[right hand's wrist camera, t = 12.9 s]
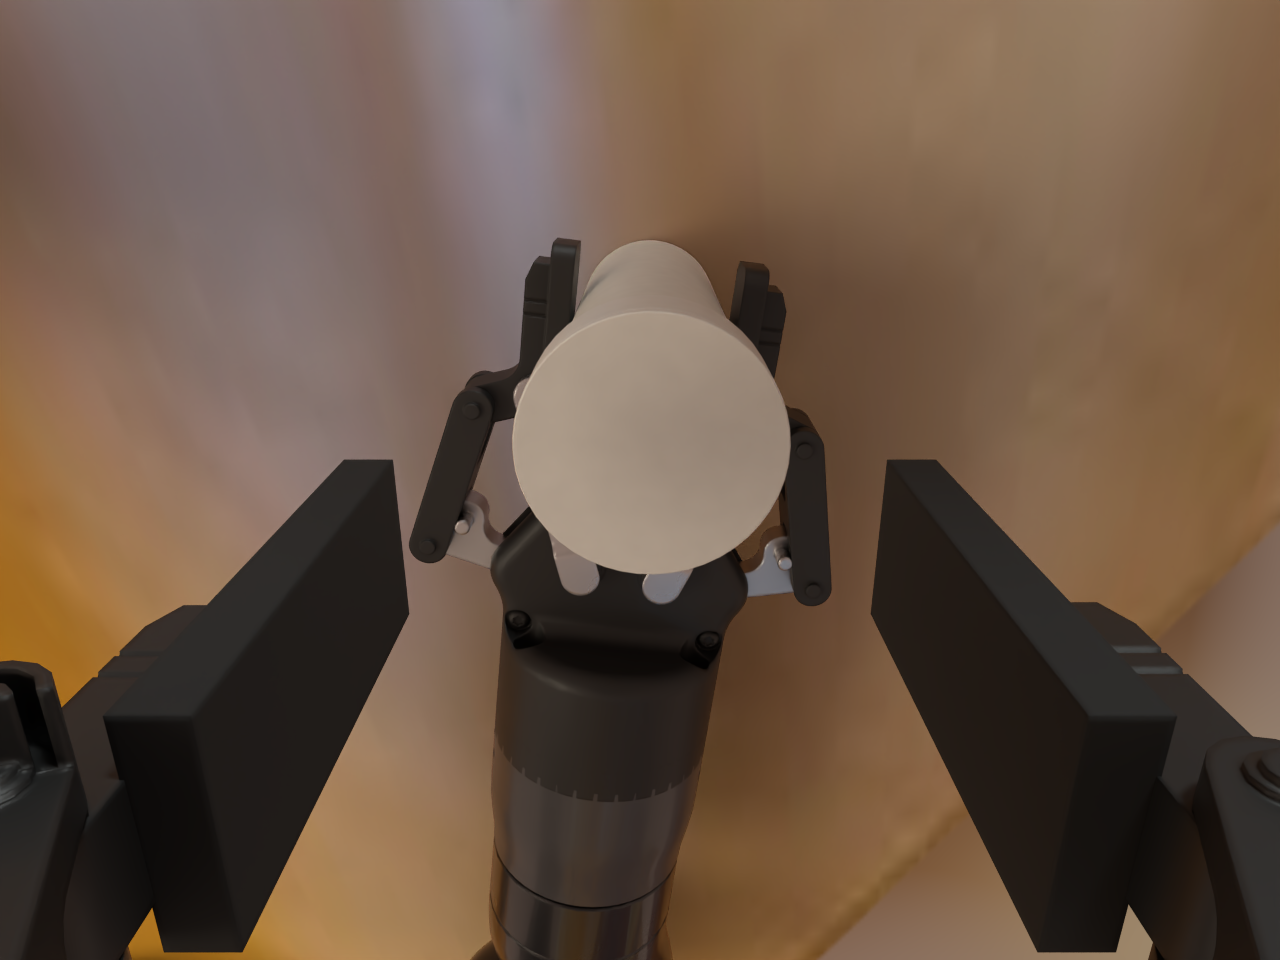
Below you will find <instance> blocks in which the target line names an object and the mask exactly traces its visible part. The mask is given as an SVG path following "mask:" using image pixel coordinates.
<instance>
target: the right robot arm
mask: <svg viewBox="0 0 1280 960" xmlns="http://www.w3.org/2000/svg"><path fill="white" fill-rule="evenodd" d="M408 615H409V607H408V598H407V588H406V579H405V570H404V560H403V551H402V541H401V532H400V523H399V513H398V504H397V494H396V485H395V476H394V466H393V460H343V461H342V462H341V464H340V465H339V466H338V467H337V468H336V469H335V470H334V471H333V472H332V473H331V474H330V475H329V476H328V477H327V478H326V479H325V481H324V482H323V483H322V484H321V485H320V486H319V487H318V488H317V489H316V490H315V491H314V492H313V493H312V494H311V495H310V496H309V498H308V499H307V500H306V501H305V502H304V503H303V504H302V505H301V506H300V507H299V508H298V509H297V510H296V511H295V512H294V513H293V514H292V516H291V517H290V518H289V519H288V520H287V521H286V522H285V523H284V524H283V525H282V526H281V527H280V528H279V529H278V530H277V531H276V533H275V534H274V535H273V536H272V537H271V538H270V539H269V540H268V541H267V542H266V543H265V544H264V545H263V546H262V547H261V548H260V549H259V551H258V552H257V553H256V554H255V555H254V556H253V557H252V558H251V559H250V560H249V561H248V562H247V563H246V564H245V565H244V566H243V568H242V569H241V570H240V571H239V572H238V573H237V574H236V575H235V576H234V577H233V578H232V579H231V580H230V581H229V582H228V583H227V584H226V586H225V587H224V588H223V589H222V590H221V591H220V592H219V593H218V594H217V595H216V596H215V597H214V598H213V599H212V600H211V601H210V603H209V604H208V605H183V606H181V607H180V608H178V609H176V610H174V611H172V612H171V613H169V614H167V615H165V616H163V617H162V618H160V619H158V620H156V621H154V622H153V623H151V624H149V625H147V626H145V627H144V628H143V629H142V630H141V631H140V632H139V633H138V634H137V635H136V636H135V637H134V638H133V639H132V640H131V641H130V642H129V643H128V644H127V645H126V646H125V647H124V648H123V649H122V650H121V651H120V655H119V656H114V657H113V658H112V659H111V660H110V661H109V662H108V663H107V664H106V665H105V666H104V667H103V668H102V669H101V670H100V671H99V672H98V674H99V675H98V677H93V678H92V679H91V680H90V681H89V682H88V683H87V684H86V685H85V686H84V687H82V688H81V689H80V690H79V691H78V692H77V693H76V694H75V695H74V696H73V697H72V698H71V699H70V700H69V701H68V702H67V703H66V704H65V705H64V706H63V707H62V708H61V704H60V701H59V697H58V694H57V690H56V686H55V683H54V679H53V676H52V672H50V671H49V670H47V669H45V668H44V667H42V666H41V665H39V664H38V663H30V662H22V661H14V660H12V661H2V662H0V960H132V959H131V955H130V951H129V948H128V945H129V943H130V941H131V940H132V938H133V937H134V935H135V934H136V932H137V930H138V929H139V927H140V926H141V924H142V923H143V921H144V920H145V918H146V916H147V915H148V913H149V912H150V910H151V909H152V908H153V912H154V916H155V919H156V923H157V927H158V931H159V935H160V939H161V943H162V946H163V950H164V952H243V950H244V948H245V946H246V944H247V942H248V940H249V938H250V936H251V934H252V932H253V930H254V928H255V926H256V924H257V922H258V920H259V918H260V916H261V913H262V911H263V909H264V907H265V905H266V903H267V901H268V899H269V897H270V895H271V893H272V891H273V889H274V887H275V885H276V883H277V881H278V879H279V877H280V875H281V873H282V871H283V869H284V867H285V865H286V863H287V861H288V859H289V857H290V855H291V853H292V851H293V849H294V847H295V845H296V842H297V840H298V838H299V836H300V834H301V832H302V830H303V828H304V826H305V824H306V822H307V820H308V818H309V816H310V814H311V812H312V810H313V808H314V806H315V804H316V802H317V800H318V798H319V796H320V794H321V792H322V790H323V788H324V786H325V784H326V782H327V780H328V778H329V776H330V774H331V772H332V769H333V767H334V765H335V763H336V761H337V759H338V757H339V755H340V753H341V751H342V749H343V747H344V745H345V743H346V741H347V739H348V737H349V735H350V733H351V731H352V729H353V727H354V725H355V723H356V721H357V719H358V717H359V715H360V713H361V711H362V709H363V707H364V705H365V703H366V701H367V699H368V696H369V694H370V692H371V690H372V688H373V686H374V684H375V682H376V680H377V678H378V676H379V674H380V672H381V670H382V668H383V666H384V664H385V662H386V660H387V658H388V656H389V654H390V652H391V650H392V648H393V646H394V644H395V642H396V640H397V638H398V636H399V634H400V632H401V630H402V628H403V625H404V623H405V621H406V619H407V617H408ZM871 615H872V617H873V619H874V621H875V623H876V625H877V628H878V630H879V632H880V634H881V636H882V638H883V640H884V642H885V644H886V646H887V648H888V650H889V652H890V654H891V656H892V658H893V660H894V662H895V664H896V666H897V668H898V670H899V672H900V674H901V676H902V678H903V680H904V682H905V684H906V686H907V688H908V690H909V692H910V694H911V696H912V699H913V701H914V703H915V705H916V707H917V709H918V711H919V713H920V715H921V717H922V719H923V721H924V723H925V725H926V727H927V729H928V731H929V733H930V735H931V737H932V739H933V741H934V743H935V745H936V747H937V749H938V751H939V753H940V755H941V757H942V759H943V761H944V763H945V765H946V767H947V769H948V772H949V774H950V776H951V778H952V780H953V782H954V784H955V786H956V788H957V790H958V792H959V794H960V796H961V798H962V800H963V802H964V804H965V806H966V808H967V810H968V812H969V814H970V816H971V818H972V820H973V822H974V824H975V826H976V828H977V830H978V832H979V834H980V836H981V838H982V840H983V843H984V845H985V846H986V849H987V851H988V853H989V855H990V857H991V859H992V861H993V863H994V865H995V867H996V869H997V871H998V873H999V875H1000V877H1001V879H1002V881H1003V883H1004V885H1005V887H1006V889H1007V891H1008V893H1009V895H1010V897H1011V899H1012V901H1013V903H1014V905H1015V907H1016V909H1017V911H1018V913H1019V916H1020V917H1021V920H1022V922H1023V924H1024V926H1025V928H1026V930H1027V932H1028V934H1029V936H1030V938H1031V940H1032V942H1033V944H1034V946H1035V948H1036V950H1037V952H1116V950H1117V946H1118V942H1119V939H1120V935H1121V931H1122V927H1123V923H1124V919H1125V916H1126V912H1127V908H1128V904H1129V906H1130V907H1131V908H1132V910H1133V912H1134V913H1135V915H1136V916H1137V918H1138V919H1139V921H1140V923H1141V924H1142V926H1143V927H1144V929H1145V930H1146V932H1147V933H1148V935H1149V937H1150V938H1151V940H1152V941H1153V944H1152V948H1151V952H1150V955H1149V959H1148V960H1280V740H1277V739H1270V738H1260V737H1253V736H1252V735H1250V734H1249V733H1248V732H1247V731H1246V730H1245V729H1244V728H1243V727H1242V726H1241V725H1240V724H1239V723H1238V722H1237V721H1236V720H1235V719H1234V718H1233V717H1232V716H1231V715H1230V714H1229V713H1228V712H1227V711H1226V710H1225V709H1224V708H1223V707H1222V706H1220V705H1219V704H1218V703H1217V702H1216V701H1215V700H1214V699H1213V698H1212V697H1211V696H1210V695H1209V694H1208V693H1207V692H1206V691H1205V690H1204V689H1203V688H1202V687H1201V686H1200V685H1199V684H1198V683H1197V682H1195V680H1194V679H1193V678H1191V677H1190V676H1189V675H1188V674H1183V672H1182V668H1181V667H1180V666H1179V665H1178V664H1177V663H1176V662H1175V661H1174V660H1173V659H1172V658H1171V657H1170V656H1169V655H1168V654H1167V653H1161V648H1160V647H1159V646H1158V645H1157V644H1156V643H1155V642H1154V641H1153V640H1152V639H1151V638H1150V637H1149V636H1148V635H1147V634H1146V633H1145V632H1144V631H1143V630H1142V629H1141V628H1140V627H1139V626H1138V625H1136V624H1135V623H1134V622H1132V621H1130V620H1128V619H1126V618H1125V617H1123V616H1121V615H1119V614H1117V613H1115V612H1114V611H1112V610H1110V609H1108V608H1106V607H1104V606H1103V605H1101V604H1099V603H1097V602H1070V601H1069V600H1068V599H1067V598H1066V597H1065V596H1064V595H1063V594H1062V593H1061V592H1060V591H1059V590H1058V589H1057V588H1056V587H1055V586H1054V584H1053V583H1052V582H1051V581H1050V580H1049V579H1048V578H1047V577H1046V576H1045V575H1044V574H1043V573H1042V572H1041V571H1040V570H1039V569H1038V568H1037V566H1036V565H1035V564H1034V563H1033V562H1032V561H1031V560H1030V559H1029V558H1028V557H1027V556H1026V555H1025V554H1024V553H1023V552H1022V551H1021V549H1020V548H1019V547H1018V546H1017V545H1016V544H1015V543H1014V542H1013V541H1012V540H1011V539H1010V538H1009V537H1008V536H1007V535H1006V534H1005V533H1004V531H1003V530H1002V529H1001V528H1000V527H999V526H998V525H997V524H996V523H995V522H994V521H993V520H992V519H991V518H990V517H989V516H988V514H987V513H986V512H985V511H984V510H983V509H982V508H981V507H980V506H979V505H978V504H977V503H976V502H975V501H974V500H973V499H972V498H971V496H970V495H969V494H968V493H967V492H966V491H965V490H964V489H963V488H962V487H961V486H960V485H959V484H958V483H957V482H956V481H955V479H954V478H953V477H952V476H951V475H950V474H949V473H948V472H947V471H946V470H945V469H944V468H943V467H942V466H941V465H940V464H939V462H938V461H937V460H887V466H886V476H885V485H884V494H883V504H882V513H881V523H880V532H879V541H878V551H877V560H876V570H875V579H874V588H873V598H872V607H871Z"/></svg>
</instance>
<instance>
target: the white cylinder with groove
mask: <svg viewBox="0 0 1280 960" xmlns="http://www.w3.org/2000/svg"><path fill="white" fill-rule="evenodd" d="M790 448H791V441H790V426H789V420H788V415H787V410H786V407H785V404H784V401H783V398H782V395H781V393H780V391H779V389H778V387H777V385H776V383H775V381H774V379H773V377H772V375H771V373H770V371H769V369H768V367H767V365H766V364H765V362H764V360H763V358H762V356H761V355H760V353H759V352H758V350H757V349H756V347H755V346H754V344H753V343H752V342H751V341H750V340H749V339H748V338H747V336H746V335H745V334H744V333H743V332H742V331H741V330H740V329H739V328H738V327H736V326H735V325H734V324H733V323H732V322H730V321H729V320H728V319H726V318H725V317H723V316H722V315H720V314H719V313H717V312H715V311H714V310H712V309H709V308H707V307H705V306H703V305H701V304H699V303H695V302H692V301H689V300H686V299H682V298H677V297H671V296H665V295H640V296H630V297H625V298H621V299H617V300H613V301H610V302H607V303H605V304H602V305H599V306H597V307H595V308H593V309H591V310H589V311H587V312H586V313H584V314H582V315H580V316H579V317H578V318H576V319H575V320H573V321H572V322H571V323H569V324H568V325H567V326H566V327H565V328H564V329H563V330H562V331H561V332H560V333H558V334H557V335H556V336H555V338H554V339H553V340H552V341H551V343H550V344H549V345H548V346H547V348H546V349H545V350H544V352H543V354H542V355H541V357H540V359H539V360H538V362H537V364H536V366H535V368H534V370H533V372H532V374H531V376H530V378H529V380H528V382H527V384H526V386H525V389H524V391H523V393H522V396H521V398H520V401H519V403H518V407H517V411H516V415H515V418H514V426H513V434H512V452H513V460H514V466H515V472H516V475H517V478H518V482H519V485H520V488H521V490H522V492H523V494H524V497H525V499H526V501H527V503H528V505H529V506H530V508H531V509H532V511H533V513H534V514H535V516H536V517H537V518H538V520H539V521H540V522H541V523H542V525H543V526H544V527H545V528H546V529H547V530H548V531H549V532H550V533H551V534H552V535H553V536H554V537H555V538H556V539H557V540H558V541H559V542H560V543H562V544H563V545H565V546H566V547H567V548H569V549H570V550H571V551H573V552H574V553H576V554H578V555H580V556H582V557H583V558H585V559H587V560H589V561H591V562H594V563H596V564H599V565H601V566H604V567H607V568H611V569H614V570H618V571H622V572H629V573H636V574H665V573H674V572H679V571H684V570H689V569H692V568H695V567H698V566H701V565H704V564H706V563H709V562H711V561H713V560H715V559H717V558H719V557H721V556H723V555H724V554H726V553H727V552H729V551H731V550H732V549H734V548H735V547H737V546H738V545H739V544H740V543H742V542H743V541H744V540H745V539H746V538H748V537H749V536H750V535H751V534H752V533H753V532H754V531H755V529H756V528H757V527H758V526H759V525H760V524H761V523H762V521H763V520H764V519H765V517H766V516H767V515H768V513H769V512H770V511H771V509H772V507H773V505H774V503H775V502H776V500H777V498H778V496H779V494H780V491H781V489H782V486H783V484H784V481H785V477H786V473H787V469H788V465H789V458H790Z"/></svg>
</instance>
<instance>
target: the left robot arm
mask: <svg viewBox="0 0 1280 960" xmlns="http://www.w3.org/2000/svg"><path fill="white" fill-rule="evenodd" d="M580 250H581V241H580V240H572V239H564V238H557V239H556V240H555V241H554V242H553V245H552V251H551V257H543V256H539V257H538V258H537V259H536V260H535V261H534V263H533V265H532V267H531V269H530V271H529V273H528V275H527V277H526V279H525V293H524V307H523V322H522V336H521V350H520V361H519V363H518V364H517V365H516V366H514V367H512V368H510V369H507V370H502V371H498V372H494V373H493V372H490V371H480V372H477V373H475V374H474V375H473V376H472V377H471V378H470V379H469V381H468V382H467V384H466V386H465V389H464V390H462V391H461V392H460V393H459V394H458V396H457V397H456V398H455V400H454V402H453V404H452V408H451V411H450V414H449V417H448V420H447V423H446V427H445V430H444V433H443V436H442V439H441V442H440V446H439V449H438V452H437V455H436V458H435V461H434V465H433V468H432V471H431V474H430V477H429V480H428V484H427V487H426V490H425V493H424V496H423V499H422V503H421V506H420V509H419V512H418V515H417V518H416V522H415V525H414V528H413V531H412V534H411V537H410V541H409V548H410V551H411V553H412V554H413V556H414V557H415V558H416V559H418V560H419V561H421V562H424V563H435V562H438V561H440V560H441V559H442V558H443V557H444V556H445V555H446V554H447V555H450V556H453V557H456V558H459V559H462V560H465V561H467V562H470V563H473V564H476V565H479V566H482V567H485V568H488V569H490V571H491V576H492V579H493V582H494V584H495V586H496V587H497V589H498V591H499V593H500V596H501V599H502V603H503V623H502V637H501V650H500V664H499V678H498V692H497V706H496V719H495V731H494V734H495V735H494V748H493V761H492V783H491V794H492V806H493V815H494V845H493V858H492V871H491V884H490V895H489V922H490V933H491V937H492V940H491V941H490V942H488V943H487V944H486V945H484V946H483V947H482V948H481V949H480V950H479V951H478V952H477V953H476V954H475V955H474V956H473V957H472V958H471V959H470V960H673V958H672V951H671V946H670V941H669V937H668V933H667V928H666V919H667V914H668V910H669V902H670V896H671V891H672V885H673V879H674V874H675V868H676V862H677V857H678V853H679V849H680V845H681V842H682V839H683V837H684V834H685V832H686V829H687V826H688V823H689V820H690V817H691V814H692V810H693V805H694V801H695V796H696V790H697V784H698V779H699V774H700V768H701V763H702V757H703V751H704V746H705V740H706V734H707V729H708V723H709V717H710V712H711V706H712V700H713V695H714V689H715V684H716V678H717V673H718V667H719V662H720V656H721V651H722V645H723V640H724V635H725V632H726V629H727V627H728V625H729V623H730V622H731V620H732V619H733V618H734V616H735V615H736V614H737V613H738V612H739V611H740V610H741V609H742V607H743V605H744V604H745V602H746V599H747V597H756V596H765V595H774V594H784V593H793V592H794V595H795V597H796V599H797V600H798V601H799V602H800V603H802V604H803V605H806V606H816V605H820V604H822V603H823V602H825V601H826V600H827V599H828V598H829V596H830V594H831V588H832V587H831V568H830V550H829V531H828V512H827V493H826V474H825V455H824V444H823V442H822V440H821V438H820V436H819V435H818V433H817V431H816V429H815V428H814V426H813V424H812V423H811V421H810V419H809V418H808V416H807V415H806V413H805V412H803V411H802V410H800V409H796V408H789V407H787V406H785V407H786V410H787V415H788V420H789V426H790V441H791V448H790V458H789V465H788V469H787V473H786V477H785V481H784V484H783V486H782V489H781V491H780V494H779V496H778V498H779V511H780V524H781V525H780V526H774V527H771V528H769V529H768V530H766V531H765V532H764V534H763V535H762V537H761V540H760V548H759V550H758V552H757V553H756V555H755V556H753V557H752V558H750V559H748V560H745V561H742V560H741V558H740V556H739V555H738V553H737V551H736V549H735V548H734V549H732V550H731V551H729V552H727V553H726V554H724V555H723V556H721V557H719V558H717V559H715V560H713V561H711V562H709V563H706V564H704V565H701V566H698V567H695V568H692V569H689V570H684V571H679V572H674V573H665V574H636V573H629V572H622V571H618V570H614V569H611V568H607V567H604V566H601V565H599V564H596V563H594V562H591V561H589V560H587V559H585V558H583V557H582V556H580V555H578V554H576V553H574V552H573V551H571V550H570V549H569V548H567V547H566V546H565V545H563V544H562V543H560V542H559V541H558V540H557V539H556V538H555V537H554V536H553V535H552V534H551V533H550V532H549V531H548V530H547V529H546V528H545V527H544V526H543V525H542V523H541V522H540V521H539V520H538V518H537V517H536V516H535V514H534V513H533V511H532V509H531V508H530V506H529V507H528V508H527V509H526V510H525V511H524V512H523V513H522V514H521V515H520V516H519V517H518V518H517V519H516V520H515V521H514V523H513V524H512V525H511V526H510V527H509V528H508V529H507V530H506V531H505V532H504V533H503V534H501V533H499V532H497V531H496V530H494V529H493V527H492V526H491V524H490V522H489V503H488V501H487V499H486V498H485V497H484V496H483V495H482V494H480V493H478V492H476V491H473V490H472V489H473V486H474V483H475V480H476V477H477V474H478V471H479V468H480V465H481V462H482V459H483V456H484V453H485V450H486V447H487V444H488V441H489V438H490V435H491V432H492V429H493V426H494V423H495V422H498V421H502V420H507V419H511V418H515V415H516V411H517V407H518V403H519V401H520V398H521V396H522V393H523V391H524V389H525V386H526V384H527V382H528V380H529V378H530V376H531V374H532V372H533V370H534V368H535V366H536V364H537V362H538V360H539V359H540V357H541V355H542V354H543V352H544V350H545V349H546V348H547V346H548V345H549V344H550V343H551V341H552V340H553V339H554V338H555V336H556V335H557V334H558V333H560V332H561V331H562V330H563V329H564V328H565V327H566V326H567V325H568V324H569V323H571V322H572V321H573V318H574V316H575V305H576V294H577V283H578V273H579V262H580ZM785 316H786V308H785V303H784V298H783V293H782V292H781V291H780V290H779V289H778V288H777V287H776V286H773V285H769V270H768V269H767V267H766V266H765V265H764V264H759V263H751V262H743V261H740V263H739V266H738V270H737V276H736V282H735V288H734V295H733V301H732V307H731V314H730V320H729V321H730V322H732V323H733V324H734V325H735V326H736V327H738V328H739V329H740V330H741V331H742V332H743V333H744V334H745V335H746V336H747V338H748V339H749V340H750V341H751V342H752V343H753V344H754V346H755V347H756V349H757V350H758V352H759V353H760V355H761V356H762V358H763V360H764V362H765V364H766V365H767V367H768V369H769V371H770V373H771V375H772V377H773V379H774V377H775V371H776V366H777V360H778V355H779V349H780V344H781V338H782V331H783V327H784V322H785Z"/></svg>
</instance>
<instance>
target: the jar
mask: <svg viewBox="0 0 1280 960" xmlns="http://www.w3.org/2000/svg"><path fill="white" fill-rule="evenodd" d="M640 295H665V296H671V297H677V298H682V299H686V300H689V301H692V302H695V303H699V304H701V305H703V306H705V307H707V308H709V309H712V310H714V311H715V312H717V313H719V314H720V315H722V316H723V317H725V318H726V316H725V314H724V312H723V310H722V307H721V305H720V303H719V301H718V298H717V296H716V294H715V292H714V290H713V287H712V285H711V283H710V281H709V279H708V277H707V275H706V273H705V271H704V270H703V268H702V267H701V265H700V264H699V263H698V262H697V261H696V259H695V258H693V257H692V256H691V255H690V254H689V253H687V252H686V251H684V250H683V249H681V248H679V247H677V246H675V245H673V244H670V243H666V242H662V241H656V240H643V241H636V242H632V243H629V244H626V245H624V246H621V247H619V248H618V249H616V250H614V251H613V252H611V253H610V254H609V255H607V256H606V257H605V258H604V259H603V260H602V261H601V262H600V263H599V265H598V266H597V267H596V268H595V270H594V272H593V273H592V275H591V277H590V280H589V282H588V284H587V287H586V289H585V292H584V294H583V296H582V299H581V301H580V304H579V306H578V309H577V311H576V313H575V316H574V318H573V320H575V319H576V318H578V317H579V316H580V315H582V314H584V313H586V312H587V311H589V310H591V309H593V308H595V307H597V306H599V305H602V304H605V303H607V302H610V301H613V300H617V299H621V298H625V297H630V296H640Z"/></svg>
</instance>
